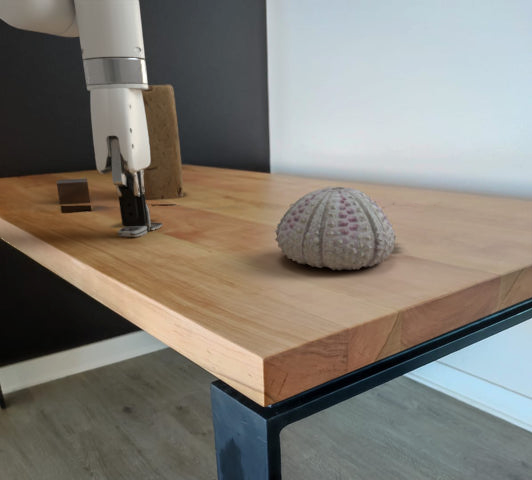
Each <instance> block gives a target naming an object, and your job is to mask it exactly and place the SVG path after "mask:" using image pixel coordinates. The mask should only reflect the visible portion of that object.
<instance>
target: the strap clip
mask: <svg viewBox="0 0 532 480" xmlns="http://www.w3.org/2000/svg"><path fill="white" fill-rule="evenodd" d="M146 209H147V217H148V223H147V224H146V225H144V226H129V227H125V226H123V227H121V228H120V229H119V230H118V232H117V234H118V236H119V237H124V238H132V237H133V238H137V237H138V238H139V236H140V237H142V236H145V235H147V234H148V232H151V231H150V230H153V231H156V230H158V229H160V227H161V228H162V226H163V222H152V221H151V213H150V208H149V204H148V203H147V202H146ZM155 229H156V230H155Z"/></svg>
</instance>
